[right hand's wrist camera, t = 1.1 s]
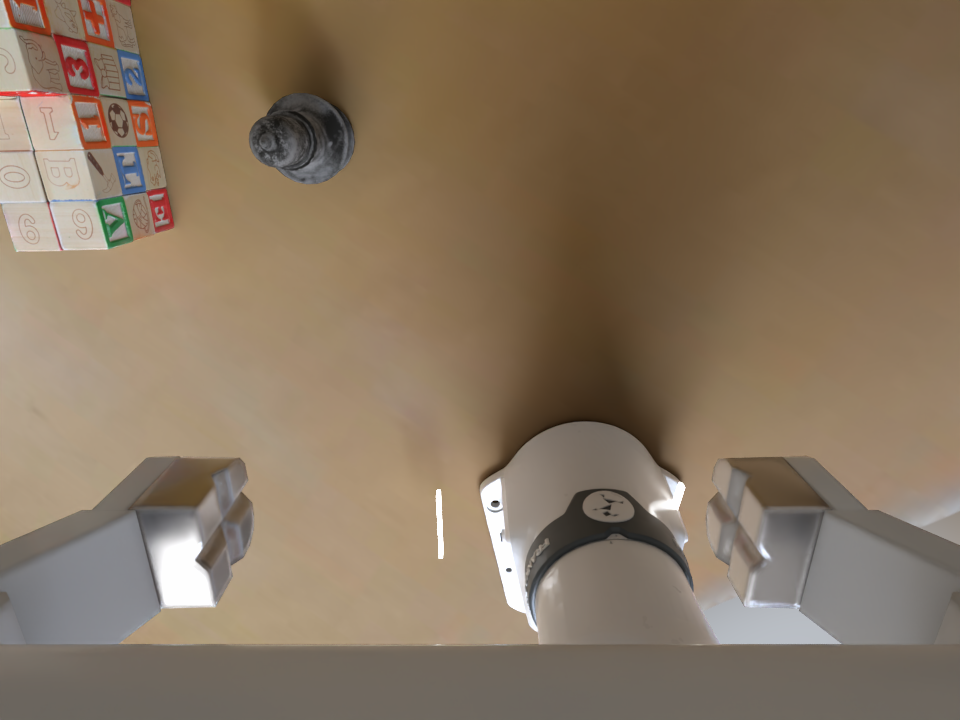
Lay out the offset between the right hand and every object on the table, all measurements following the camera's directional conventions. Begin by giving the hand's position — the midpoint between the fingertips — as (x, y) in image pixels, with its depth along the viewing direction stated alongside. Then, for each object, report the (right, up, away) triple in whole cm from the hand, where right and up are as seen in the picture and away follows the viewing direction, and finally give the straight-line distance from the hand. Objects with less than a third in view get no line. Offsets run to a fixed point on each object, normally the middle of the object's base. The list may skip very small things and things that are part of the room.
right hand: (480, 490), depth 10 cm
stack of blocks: (-27, +22, +32) cm, 47 cm away
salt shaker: (-12, +19, +33) cm, 40 cm away
